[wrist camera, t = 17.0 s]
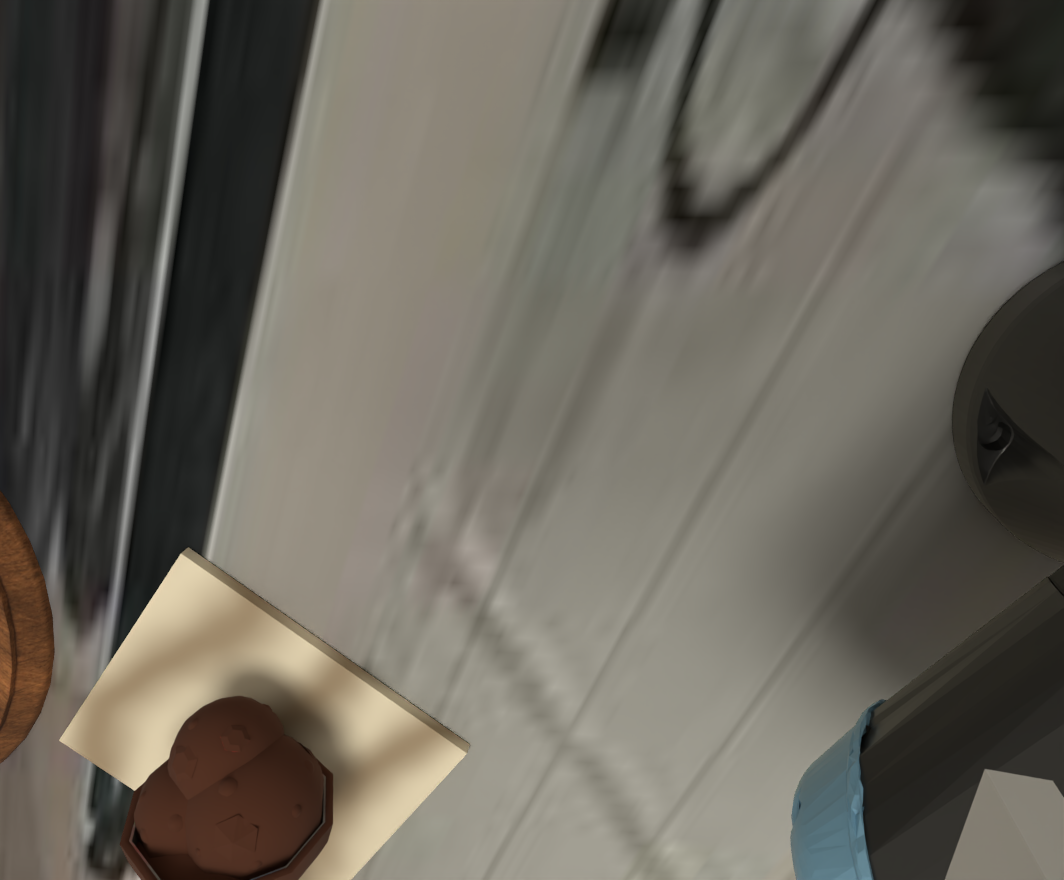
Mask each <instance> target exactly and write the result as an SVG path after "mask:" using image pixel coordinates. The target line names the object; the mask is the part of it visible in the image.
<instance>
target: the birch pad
mask: <svg viewBox="0 0 1064 880" xmlns="http://www.w3.org/2000/svg"><path fill="white" fill-rule="evenodd" d="M233 696H244V697H249V698H253V699H254V700H256V701H258V702H260V703H261V704H266V705H269V706H270V708H271V709H272V711H273V712H274V713H275V714H276V715H277V716H278V718H279V720H280V722H281V723H282V725H283V728H284V734H285V735H287V736H290V737H292V738H294V739H295V740H296V741H297V742H299V743H301V744H302V745H303V746H304V747H306V748H308V749H309V750H311V752H312V753H313V754H314V756H315V757H316V758H317V759H318V760H319V761H320V762H321V763H322V764H323V765H324V766H325V767H326V768H327V769H328V770H329V771H330V772H331V773H333V825H332V829H331V833H330V836H329V840H328V842H327V844H326V845H325V847H324V848H323V850H322V851H321V852H320V854H319V855H318V857H317V858H316V859H315V860H314V861H313V863H312V864H311V865H310V866H309V868H308V869H307V870H306V871H305V872H304V874H303V875H302V876H301V877H300V879H299V880H351V879H352V878H353V877H354V876H355V875H356V874H357V873H358V871H359V870H360V869H361V868H362V867H363V866H364V865H365V864H366V863H367V862H368V861H369V859H370V858H371V857H372V856H373V855H374V854H375V853H376V852H377V851H378V850H379V849H380V848H381V846H382V845H383V844H384V843H385V842H386V841H387V840H388V839H389V838H390V837H391V836H392V834H393V833H394V832H395V831H396V830H397V829H398V828H399V827H400V826H401V825H402V824H403V823H404V821H405V820H406V819H407V818H408V817H409V816H410V815H411V814H412V813H413V812H414V811H415V809H416V808H417V807H418V806H419V805H420V804H421V803H422V802H423V801H424V800H425V799H426V798H427V796H428V795H429V794H430V793H431V792H432V791H433V790H434V789H435V788H436V787H437V786H438V785H439V783H440V782H441V781H442V780H443V779H444V778H445V777H446V776H447V775H448V774H449V773H450V771H451V770H452V769H453V768H454V767H455V766H456V765H457V764H458V763H459V762H460V761H461V760H462V758H463V757H464V756H465V755H466V754H467V752H468V749H469V745H470V744H468V743H467V742H465V741H464V740H463V739H461V738H460V737H458V736H457V735H455V734H454V733H453V732H451V731H450V730H448V729H447V728H445V727H444V726H443V725H441V724H440V723H438V722H437V721H436V720H434V719H433V718H431V717H430V716H428V715H427V714H426V713H424V712H423V711H421V710H420V709H418V708H417V707H416V706H414V705H413V704H411V703H410V702H408V701H407V700H406V699H404V698H403V697H401V696H400V695H398V694H397V693H396V692H394V691H393V690H391V689H390V688H388V687H387V686H386V685H384V684H383V683H381V682H380V681H378V680H377V679H376V678H374V677H373V676H371V675H370V674H368V673H367V672H366V671H364V670H363V669H361V668H360V667H358V666H357V665H356V664H354V663H353V662H351V661H350V660H349V659H347V658H346V657H344V656H343V655H341V654H340V653H339V652H337V651H336V650H334V649H333V648H331V647H330V646H329V645H327V644H326V643H324V642H323V641H321V640H320V639H319V638H317V637H316V636H314V635H313V634H311V633H310V632H309V631H307V630H306V629H304V628H303V627H301V626H300V625H299V624H297V623H296V622H294V621H293V620H291V619H290V618H289V617H287V616H286V615H284V614H283V613H281V612H280V611H279V610H277V609H276V608H274V607H273V606H271V605H270V604H269V603H267V602H266V601H264V600H263V599H262V598H260V597H259V596H257V595H256V594H254V593H253V592H252V591H250V590H249V589H247V588H246V587H244V586H243V585H242V584H240V583H239V582H237V581H236V580H234V579H233V578H232V577H230V576H229V575H227V574H226V573H224V572H223V571H222V570H220V569H219V568H217V567H216V566H214V565H213V564H212V563H210V562H209V561H207V560H206V559H204V558H203V557H202V556H200V555H199V554H197V553H196V552H194V551H193V550H192V549H190V548H189V547H188V548H187V549H186V550H185V551H183V552H182V553H181V554H180V556H179V557H178V559H177V560H176V562H175V564H174V565H173V567H172V568H171V570H170V571H169V573H168V574H167V576H166V577H165V579H164V580H163V582H162V583H161V585H160V587H159V588H158V590H157V591H156V593H155V594H154V596H153V597H152V599H151V600H150V602H149V603H148V605H147V606H146V608H145V610H144V611H143V613H142V614H141V616H140V617H139V619H138V620H137V622H136V623H135V625H134V626H133V628H132V629H131V631H130V633H129V634H128V636H127V637H126V639H125V640H124V642H123V643H122V645H121V646H120V648H119V649H118V651H117V652H116V654H115V656H114V657H113V659H112V660H111V662H110V663H109V665H108V666H107V668H106V669H105V671H104V672H103V674H102V675H101V677H100V679H99V680H98V682H97V683H96V685H95V686H94V688H93V689H92V691H91V692H90V694H89V695H88V697H87V698H86V700H85V702H84V703H83V705H82V706H81V708H80V709H79V711H78V712H77V714H76V715H75V717H74V718H73V720H72V721H71V723H70V725H69V726H68V728H67V729H66V731H65V732H64V734H63V735H62V737H61V738H60V740H59V741H61V742H62V743H64V744H65V745H67V746H68V747H70V748H71V749H73V750H74V751H76V752H77V753H79V754H80V755H82V756H83V757H85V758H86V759H88V760H89V761H91V762H92V763H94V764H95V765H97V766H98V767H100V768H101V769H103V770H104V771H106V772H107V773H109V774H110V775H112V776H113V777H115V778H116V779H118V780H119V781H121V782H122V783H124V784H125V785H127V786H128V787H130V788H131V789H133V790H134V791H135V790H136V789H137V788H139V787H140V786H141V785H142V784H143V783H144V782H145V781H146V780H147V778H148V777H149V775H150V774H151V773H152V772H154V771H155V770H156V769H157V768H158V767H160V766H161V765H162V764H163V763H164V762H165V761H167V760H168V759H169V756H170V751H171V748H172V745H173V743H174V741H175V738H176V736H177V734H178V731H179V730H180V728H181V727H182V725H183V724H184V722H185V720H187V719H188V718H189V717H190V716H191V715H193V714H194V713H195V712H196V711H198V710H199V709H200V708H201V707H203V706H205V705H207V704H209V703H211V702H213V701H215V700H218V699H221V698H226V697H233Z"/></svg>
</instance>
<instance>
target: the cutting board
mask: <svg viewBox="0 0 1064 880" xmlns="http://www.w3.org/2000/svg"><path fill="white" fill-rule="evenodd" d="M53 659H54V635H53V617H52V612H51V607H50V603H49V598H48V594H47V589H46V585H45V580H44V577H43V574H42V572H41V569H40V566H39V564H38V561H37V559H36V556H35V553H34V551H33V548H32V545H31V543H30V540H29V539H28V537H27V535H26V533H25V531H24V529H23V527H22V526H21V524H20V522H19V520H18V518H17V516H16V514H15V513H14V511H13V509H12V507H11V505H10V503H9V502H8V501H7V499H6V498H5V496H4V495H3V494H2V492H1V491H0V763H1V762H3V761H4V760H5V759H6V758H7V757H8V756H9V755H10V754H11V753H12V752H13V751H14V750H15V749H16V748H17V747H18V745H19V744H20V743H21V742H22V741H23V740H24V739H25V738H26V737H27V735H28V733H29V732H30V730H31V728H32V727H33V725H34V723H35V721H36V720H37V718H38V716H39V715H40V713H41V710H42V707H43V704H44V701H45V698H46V695H47V692H48V689H49V686H50V683H51V675H52V667H53Z"/></svg>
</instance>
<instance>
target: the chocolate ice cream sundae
mask: <svg viewBox="0 0 1064 880" xmlns="http://www.w3.org/2000/svg"><path fill="white" fill-rule="evenodd" d="M332 825H333V773H331V772H330V771H329V770H328V769H327V768H326V767H325V766H324V765H323V764H322V763H321V762H320V761H319V760H318V759H317V758H316V757H315V756H314V754H313V753H312V752H311V750H309V749H308V748H306V747H304V746H303V745H302V744H301V743H299V742H297V741H296V740H295V739H294V738H292V737H290V736H287V735H285V734H284V728H283V725H282V723H281V722H280V720H279V718H278V716H277V715H276V714H275V713H274V712H273V711H272V709H271V708H270V706H269V705H266V704H261V703H260V702H258V701H256V700H254V699H253V698H249V697H244V696H233V697H226V698H221V699H218V700H215V701H213V702H211V703H209V704H207V705H205V706H203V707H201V708H200V709H199V710H198V711H196V712H195V713H194V714H193V715H191V716H190V717H189V718H188V719H187V720H185V722H184V724H183V725H182V727H181V728H180V730H179V731H178V734H177V736H176V738H175V741H174V743H173V745H172V748H171V751H170V756H169V759H168V760H167V761H165V762H164V763H163V764H162V765H161V766H160V767H158V768H157V769H156V770H155V771H154V772H152V773H151V774H150V775H149V777H148V778H147V780H146V781H145V782H144V783H143V784H142V785H141V786H140V787H139V788H137V789H136V790H135V791H134V794H133V798H132V801H131V805H130V809H129V812H128V816H127V820H126V823H125V827H124V831H123V834H122V838H121V842H120V846H121V848H122V850H123V852H124V854H125V856H126V858H127V860H128V862H129V864H130V865H131V866H132V868H133V869H134V871H135V872H136V873H137V875H138V876H139V877H140V879H141V880H299V879H300V877H301V876H302V875H303V874H304V872H305V871H306V870H307V869H308V868H309V866H310V865H311V864H312V863H313V861H314V860H315V859H316V858H317V857H318V855H319V854H320V852H321V851H322V850H323V848H324V847H325V845H326V844H327V842H328V840H329V836H330V833H331V829H332Z"/></svg>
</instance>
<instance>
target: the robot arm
mask: <svg viewBox="0 0 1064 880" xmlns="http://www.w3.org/2000/svg"><path fill="white" fill-rule="evenodd" d="M952 429H953V440H954V446H955V451H956V455H957V459H958V462H959V465H960V467H961V470H962V472H963V474H964V477H965V479H966V481H967V483H968V484H969V486H970V488H971V489H972V491H973V492H974V494H975V495H976V497H977V498H978V499H979V500H980V502H981V503H982V504H983V505H984V506H985V507H986V508H987V509H988V510H989V511H990V512H991V513H992V514H993V515H994V516H995V518H996V519H997V520H998V521H999V522H1000V523H1001V524H1002V525H1003V526H1004V527H1005V528H1006V529H1007V530H1009V531H1010V532H1011V533H1012V534H1013V535H1015V536H1016V537H1017V538H1018V539H1020V540H1021V541H1023V542H1024V543H1026V544H1027V545H1029V546H1030V547H1032V548H1034V549H1035V550H1037V551H1039V552H1041V553H1043V554H1045V555H1047V556H1049V557H1051V558H1053V559H1055V560H1058V561H1060V562H1063V563H1064V262H1062V263H1060V264H1059V265H1057V266H1055V267H1053V268H1051V269H1050V270H1048V271H1046V272H1045V273H1043V274H1042V275H1040V276H1039V277H1037V278H1036V279H1034V280H1033V281H1032V282H1030V283H1029V284H1028V285H1026V286H1025V287H1024V288H1023V289H1022V290H1020V291H1019V292H1018V293H1017V294H1016V295H1014V296H1013V297H1012V298H1011V299H1010V300H1009V301H1008V302H1007V303H1006V304H1005V305H1004V306H1003V307H1002V308H1001V309H1000V310H999V312H998V313H997V314H996V315H995V316H994V317H993V319H992V320H991V321H990V322H989V324H988V325H987V326H986V328H985V329H984V330H983V332H982V333H981V335H980V336H979V338H978V339H977V341H976V343H975V344H974V346H973V348H972V350H971V352H970V354H969V356H968V358H967V360H966V362H965V365H964V367H963V369H962V372H961V375H960V378H959V381H958V385H957V389H956V393H955V399H954V404H953V416H952ZM791 816H792V825H793V828H792V831H791V837H790V838H791V851H792V859H793V865H794V871H795V876H796V880H1064V566H1062V567H1061V568H1060V569H1058V570H1057V571H1056V572H1055V573H1053V574H1052V575H1050V576H1049V577H1046V578H1045V579H1044V580H1043V581H1041V582H1040V583H1039V584H1037V585H1036V586H1035V587H1033V588H1032V589H1031V590H1030V591H1028V592H1027V593H1026V594H1024V595H1023V596H1022V597H1021V598H1019V599H1018V600H1017V601H1015V602H1014V603H1013V604H1011V605H1010V606H1009V607H1008V608H1006V609H1005V610H1004V611H1002V612H1001V613H1000V614H998V615H997V616H996V617H995V618H993V619H992V620H991V621H989V622H988V623H987V624H986V625H984V626H983V627H982V628H980V629H979V630H978V631H976V632H975V633H974V634H973V635H971V636H970V637H969V638H967V639H966V640H965V641H964V642H962V643H961V644H960V645H958V646H957V647H956V648H954V649H953V650H952V651H951V652H949V653H948V654H947V655H945V656H944V657H943V658H941V659H940V660H939V661H938V662H936V663H935V664H934V665H932V666H931V667H930V668H929V669H927V670H926V671H925V672H923V673H922V674H921V675H919V676H918V677H917V678H916V679H914V680H913V681H912V682H910V683H909V684H908V685H906V686H905V687H904V688H903V689H901V690H900V691H899V692H897V693H896V694H895V695H894V696H892V697H891V698H890V699H888V700H883V699H881V700H879V701H877V702H875V703H874V704H872V705H871V706H870V707H868V708H867V709H866V710H865V711H864V712H863V713H862V715H861V716H860V718H859V719H858V721H857V723H856V725H855V726H854V727H853V728H852V729H851V730H850V731H849V732H847V733H846V734H845V735H844V736H843V737H842V738H841V739H840V740H838V741H837V742H836V743H835V744H834V745H833V746H832V747H830V748H829V749H828V750H827V751H826V752H825V753H824V754H823V755H821V756H820V757H819V758H818V759H817V760H816V761H814V762H813V763H812V764H811V766H810V767H809V768H808V769H807V770H806V772H805V773H804V775H803V777H802V778H801V780H800V782H799V784H798V787H797V789H796V792H795V795H794V801H793V808H792V815H791Z"/></svg>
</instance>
